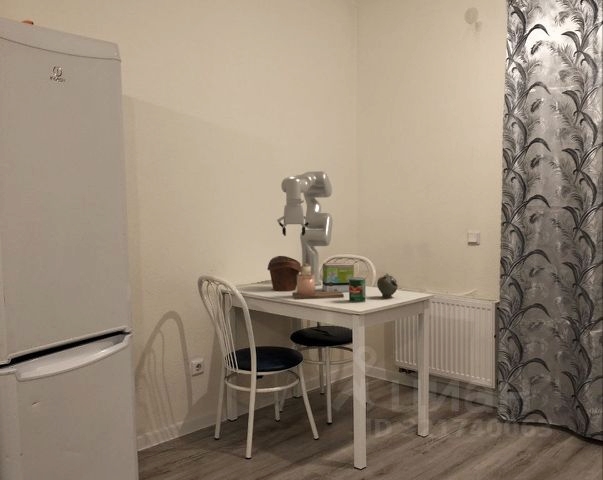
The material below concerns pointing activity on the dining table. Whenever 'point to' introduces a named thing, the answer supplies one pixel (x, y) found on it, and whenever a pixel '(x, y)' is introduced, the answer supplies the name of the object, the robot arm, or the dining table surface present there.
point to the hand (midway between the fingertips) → (293, 235)
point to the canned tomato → (357, 290)
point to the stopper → (305, 270)
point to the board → (320, 295)
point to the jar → (305, 285)
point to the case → (284, 273)
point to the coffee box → (337, 276)
